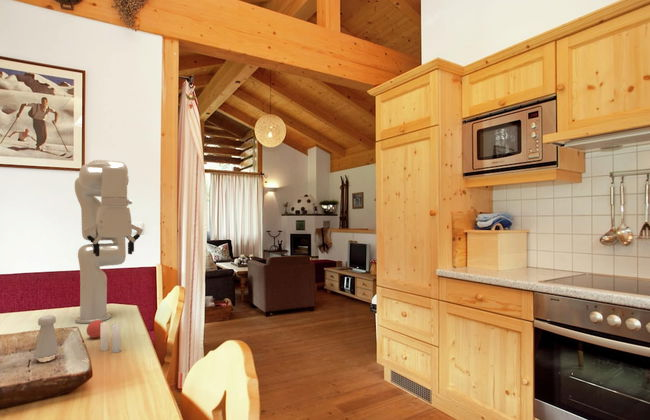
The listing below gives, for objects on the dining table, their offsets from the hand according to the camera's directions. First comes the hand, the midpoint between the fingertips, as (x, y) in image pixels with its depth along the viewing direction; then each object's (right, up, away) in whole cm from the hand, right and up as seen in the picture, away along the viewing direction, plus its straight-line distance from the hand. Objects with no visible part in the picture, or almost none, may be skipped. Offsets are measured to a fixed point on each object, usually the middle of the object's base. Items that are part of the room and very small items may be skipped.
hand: (114, 255), depth 125 cm
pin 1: (-1, -30, -4) cm, 30 cm away
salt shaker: (-13, -30, -12) cm, 35 cm away
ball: (-11, -27, +9) cm, 31 cm away
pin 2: (+4, -30, -5) cm, 31 cm away
